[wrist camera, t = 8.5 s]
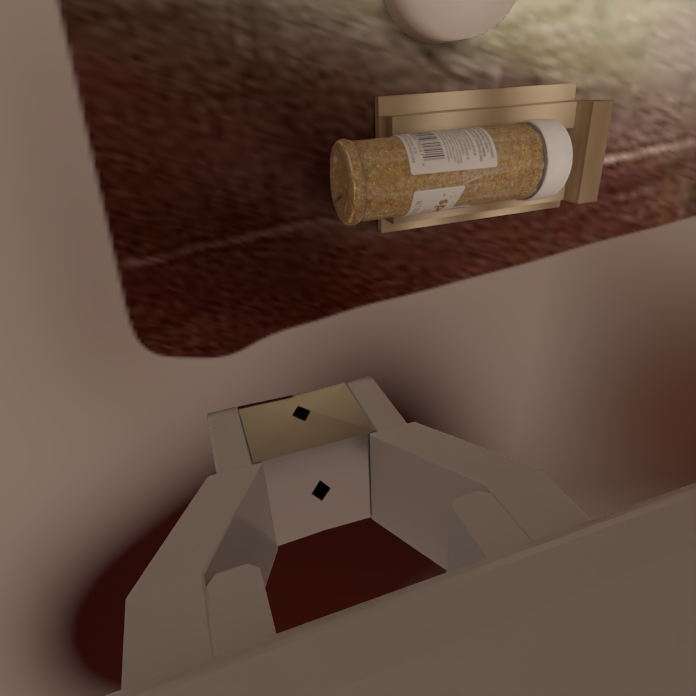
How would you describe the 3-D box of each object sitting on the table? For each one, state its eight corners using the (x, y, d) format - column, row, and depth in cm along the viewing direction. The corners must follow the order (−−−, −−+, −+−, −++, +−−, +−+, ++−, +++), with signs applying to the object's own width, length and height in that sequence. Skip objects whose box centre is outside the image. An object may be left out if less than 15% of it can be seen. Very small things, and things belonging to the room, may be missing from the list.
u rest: (378, 231, 33) (403, 246, 30) (374, 96, 30) (402, 96, 26) (554, 205, 37) (594, 216, 34) (570, 83, 33) (617, 81, 30)
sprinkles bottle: (350, 240, 27) (562, 209, 30) (352, 153, 24) (586, 130, 27) (326, 206, 30) (519, 182, 33) (325, 126, 27) (537, 108, 31)
